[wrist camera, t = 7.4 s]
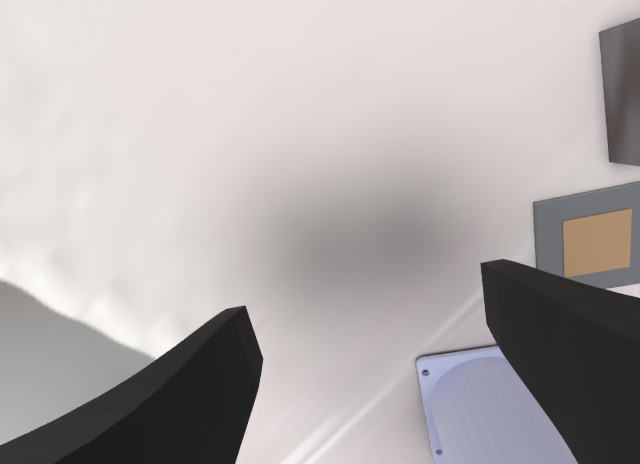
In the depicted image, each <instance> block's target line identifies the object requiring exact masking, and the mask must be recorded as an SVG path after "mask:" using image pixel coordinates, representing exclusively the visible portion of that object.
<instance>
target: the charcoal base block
mask: <svg viewBox="0 0 640 464" xmlns="http://www.w3.org/2000/svg"><path fill="white" fill-rule="evenodd" d="M599 37H600V50H601V63H602V75H603V88H604V100H605V113H606V126H607V138H608V151H609V162H615V163H621V164H628V165H634V166H640V18H638V19H635V20H633V21H630V22H627V23H624V24H621V25H618V26H615V27H612V28H610V29H607V30H604V31H601V32H599Z"/></svg>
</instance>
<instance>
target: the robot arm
mask: <svg viewBox="0 0 640 464" xmlns="http://www.w3.org/2000/svg"><path fill="white" fill-rule="evenodd" d="M481 273H482V283H483V293H484V303H485V313H486V323H487V325H488V327H489V329H490V331H491V333H492V335H493V337H494V339H495V341H496V343H497V345H498V346H494V347H488V348H481V349H474V350H467V351H460V352H454V353H447V354H440V355H433V356H426V357H421V358H419V359H418V360H417V361H416V367H417V373H418V378H419V384H420V389H421V395H422V401H423V406H424V412H425V417H426V423H427V428H428V434H429V440H430V445H431V451H432V456H433V461H434V464H640V298H637V297H633V296H629V295H625V294H621V293H617V292H613V291H609V290H606V289H602V288H598V287H594V286H591V285H587V284H584V283H580V282H577V281H574V280H570V279H567V278H564V277H561V276H558V275H554V274H551V273H548V272H545V271H542V270H539V269H536V268H533V267H530V266H527V265H523V264H520V263H517V262H513V261H510V260H505V259H500V260H495V261H489V262H484V263H481ZM262 364H263V357H262V354H261V351H260V348H259V345H258V342H257V339H256V336H255V333H254V330H253V327H252V324H251V321H250V318H249V315H248V312H247V309H246V306H240V307H234V308H228V309H226V310H224V311H222V312H221V313H219V314H218V315H216V316H215V317H213V318H212V319H211V320H209V321H208V322H207V323H205V324H204V325H203V326H201V327H200V328H199V329H197V330H196V331H195V332H193V333H192V334H191V335H189V336H188V337H187V338H185V339H184V340H183V341H181V342H180V343H179V344H177V345H176V346H175V347H173V348H172V349H171V350H169V351H168V352H166V353H165V354H164V355H162V356H161V357H159V358H158V359H157V360H155V361H154V362H152V363H151V364H150V365H148V366H147V367H145V368H144V369H142V370H141V371H139V372H138V373H136V374H135V375H133V376H132V377H130V378H129V379H127V380H125V381H124V382H122V383H120V384H119V385H117V386H116V387H114V388H112V389H111V390H109V391H107V392H106V393H104V394H102V395H100V396H99V397H97V398H95V399H93V400H91V401H89V402H87V403H86V404H84V405H82V406H80V407H78V408H76V409H75V410H73V411H71V412H69V413H67V414H65V415H63V416H61V417H60V418H58V419H56V420H54V421H52V422H50V423H47V424H46V425H43V426H41V427H39V428H37V429H35V430H33V431H31V432H29V433H27V434H24V435H22V436H20V437H18V438H16V439H13V440H11V441H9V442H7V443H5V444H2V445H0V464H235V462H236V459H237V456H238V453H239V450H240V446H241V443H242V440H243V437H244V434H245V431H246V427H247V424H248V421H249V418H250V415H251V412H252V408H253V405H254V402H255V399H256V395H257V392H258V388H259V383H260V377H261V371H262ZM423 370H428V371H427V372H422V371H423ZM438 449H439V450H438Z"/></svg>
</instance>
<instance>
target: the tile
mask: <svg viewBox="0 0 640 464" xmlns="http://www.w3.org/2000/svg"><path fill="white" fill-rule="evenodd" d="M534 221H535V241H536V261H537V269H539V270H542V271H545V272H548V273H551V274H554V275H558V276H561V277H564V278H567V279H570V280H574V281H577V282H580V283H584V284H587V285H591V286H594V287H598V288H602V289H607V288H614V287H620V286H626V285H632V284H638V283H640V182H635V183H630V184H625V185H620V186H615V187H610V188H605V189H600V190H594V191H589V192H584V193H579V194H574V195H569V196H564V197H559V198H554V199H549V200H544V201H539V202H534Z"/></svg>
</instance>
